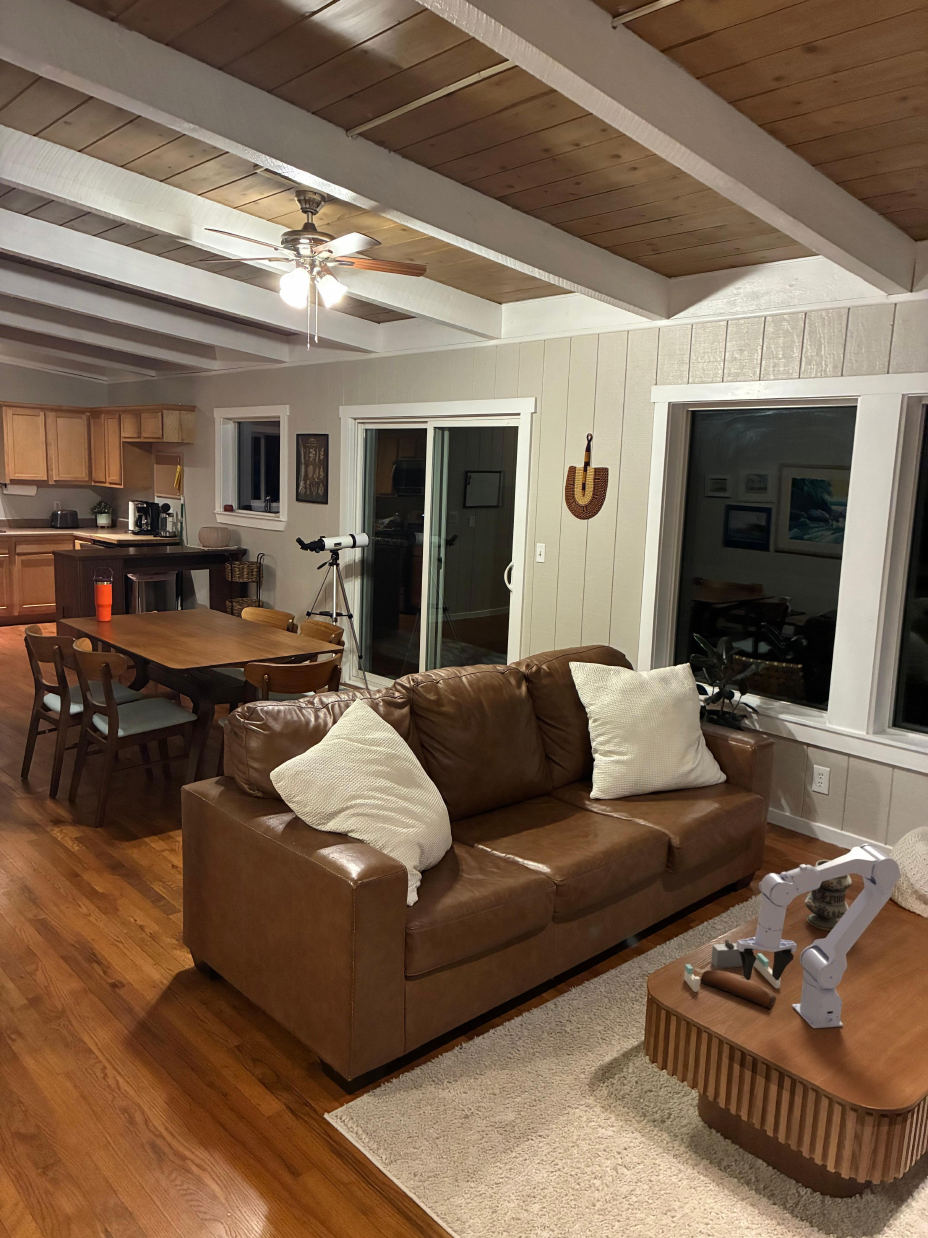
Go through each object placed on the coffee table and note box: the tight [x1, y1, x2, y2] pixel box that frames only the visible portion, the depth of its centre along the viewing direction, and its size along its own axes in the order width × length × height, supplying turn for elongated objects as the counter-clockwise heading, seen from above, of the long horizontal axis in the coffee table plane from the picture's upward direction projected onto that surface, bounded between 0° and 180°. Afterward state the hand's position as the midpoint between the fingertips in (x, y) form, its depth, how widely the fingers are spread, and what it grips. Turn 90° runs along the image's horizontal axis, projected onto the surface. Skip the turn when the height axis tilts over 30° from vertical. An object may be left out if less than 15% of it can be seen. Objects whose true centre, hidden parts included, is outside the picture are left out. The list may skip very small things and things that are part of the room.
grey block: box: [710, 939, 743, 969], centre depth 242 cm, size 3×8×6 cm, turn 101°
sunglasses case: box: [700, 969, 779, 1010], centre depth 230 cm, size 18×7×7 cm
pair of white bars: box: [683, 952, 782, 993], centre depth 235 cm, size 11×23×4 cm, turn 101°
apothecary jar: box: [804, 859, 853, 932], centre depth 267 cm, size 12×12×18 cm
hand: (760, 978), depth 217 cm, fingers open, 7 cm apart
